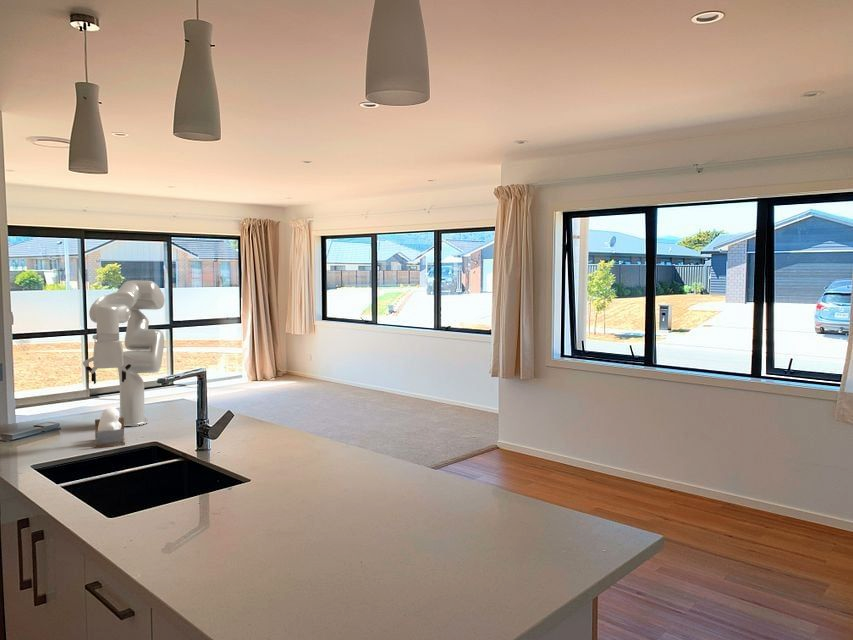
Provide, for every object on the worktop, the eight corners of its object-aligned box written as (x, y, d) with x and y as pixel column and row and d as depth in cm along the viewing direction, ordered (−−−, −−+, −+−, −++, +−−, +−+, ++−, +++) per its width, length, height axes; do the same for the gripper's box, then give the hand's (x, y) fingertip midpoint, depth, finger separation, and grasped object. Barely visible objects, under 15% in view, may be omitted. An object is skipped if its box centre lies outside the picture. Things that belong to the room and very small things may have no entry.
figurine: (114, 440, 235) (113, 408, 235) (94, 440, 235) (93, 409, 235) (123, 437, 242) (122, 406, 242) (104, 437, 242) (103, 406, 242)
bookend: (96, 442, 234) (96, 429, 234) (123, 440, 238) (123, 427, 238) (96, 445, 230) (96, 432, 230) (123, 442, 235) (123, 429, 234)
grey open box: (95, 439, 242) (95, 419, 241) (123, 436, 246) (123, 417, 246) (95, 448, 230) (94, 426, 230) (125, 445, 235) (124, 424, 234)
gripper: (81, 339, 228) (83, 385, 230) (133, 338, 236) (134, 382, 238) (82, 337, 235) (83, 382, 236) (132, 336, 243) (133, 379, 244)
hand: (109, 382), depth 237 cm, fingers open, 9 cm apart
